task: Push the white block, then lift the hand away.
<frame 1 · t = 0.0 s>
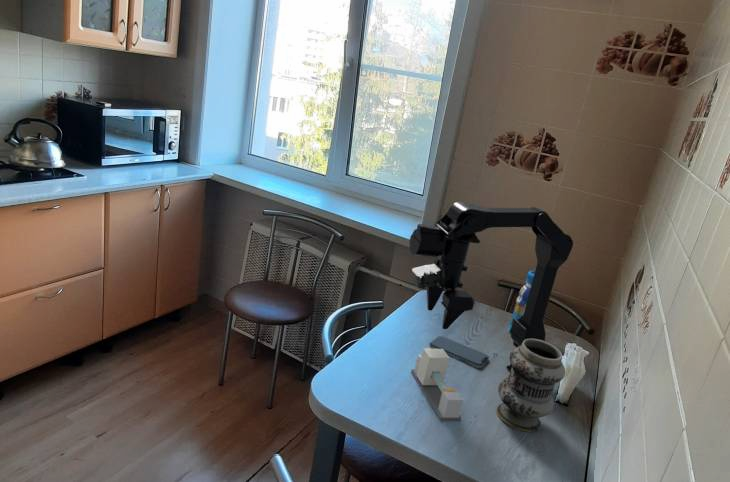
hand: (436, 319, 123), 15 cm above the table, tool pointing down, fingers open, 9 cm apart
white block: (432, 366, 121), point 5 cm above the table, slide at 0.0 cm
smartphone: (457, 354, 141), on the table
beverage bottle: (520, 334, 160), on the table
grey piece: (434, 394, 119), on the table
apothecary jar: (518, 418, 117), on the table
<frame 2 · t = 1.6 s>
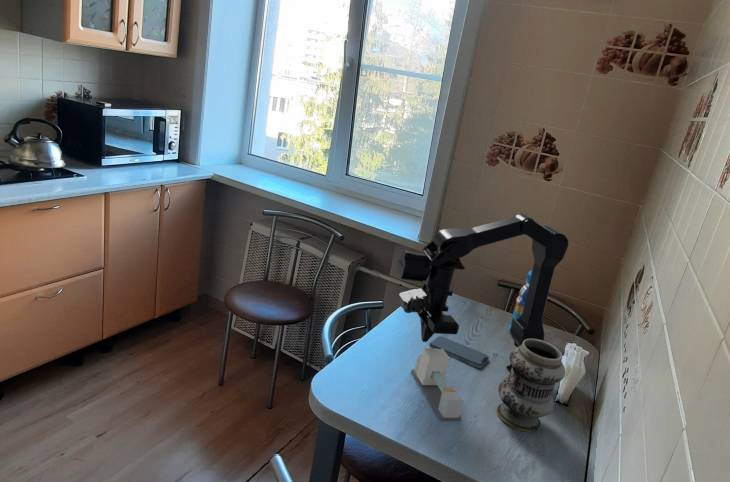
hand: (424, 341, 127), 7 cm above the table, tool pointing down, fingers closed
nothing on the table moved.
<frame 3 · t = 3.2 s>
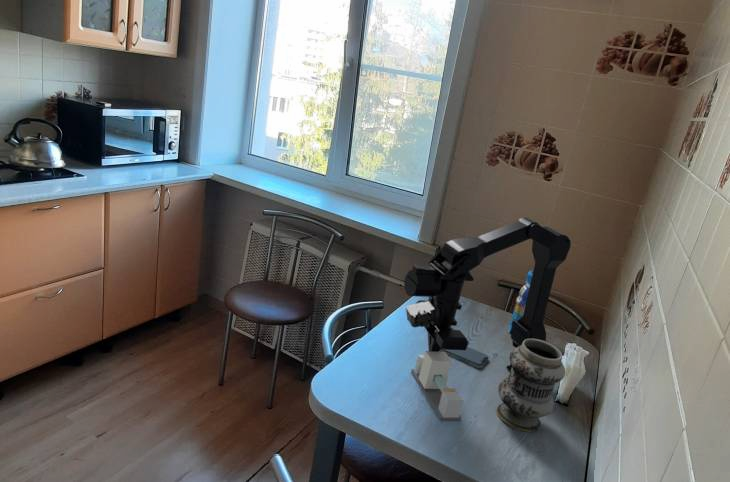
hand: (431, 355, 122), 7 cm above the table, tool pointing down, fingers closed
white block: (434, 370, 120), point 5 cm above the table, slide at 1.4 cm, touching gripper
everything else where it was.
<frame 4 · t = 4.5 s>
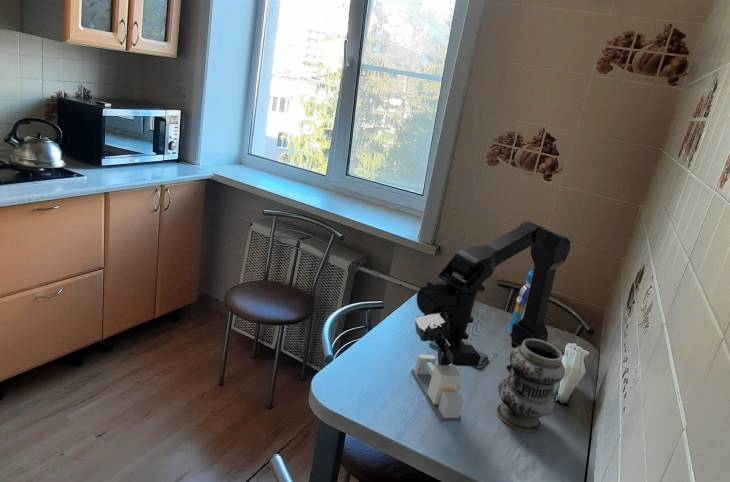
hand: (440, 369, 117), 7 cm above the table, tool pointing down, fingers closed
white block: (444, 384, 115), point 5 cm above the table, slide at 7.1 cm, touching grey piece, gripper
everything else where it was.
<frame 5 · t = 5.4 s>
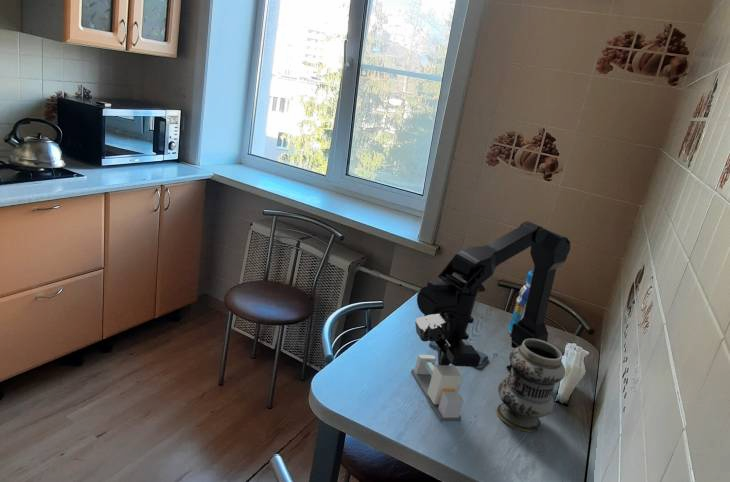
hand: (440, 369, 117), 7 cm above the table, tool pointing down, fingers closed
nothing on the table moved.
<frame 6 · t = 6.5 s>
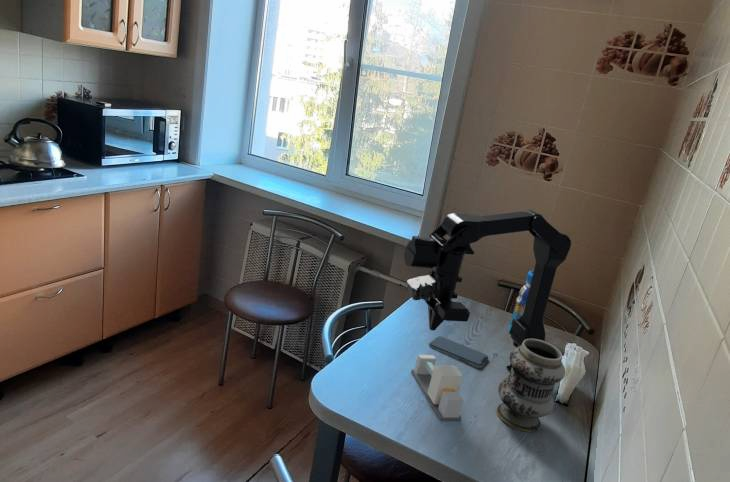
hand: (431, 329, 123), 12 cm above the table, tool pointing down, fingers closed
white block: (444, 384, 115), point 5 cm above the table, slide at 7.1 cm, touching grey piece
everything else where it was.
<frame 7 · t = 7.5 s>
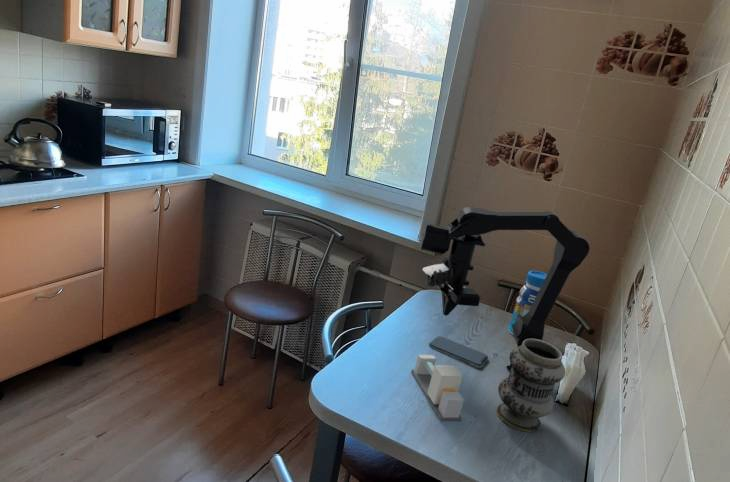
hand: (445, 314, 133), 12 cm above the table, tool pointing down, fingers closed
nothing on the table moved.
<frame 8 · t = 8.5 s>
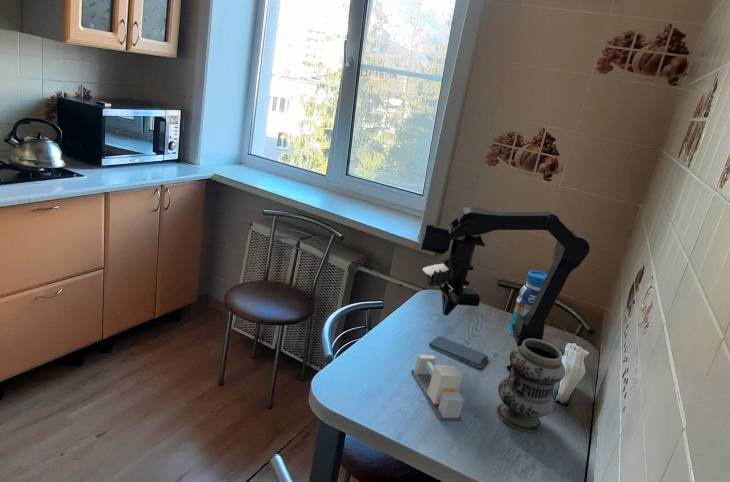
hand: (445, 314, 133), 12 cm above the table, tool pointing down, fingers closed
nothing on the table moved.
at the end: white block slide at 7.1 cm; smartphone moved 0.8 cm from its start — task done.
